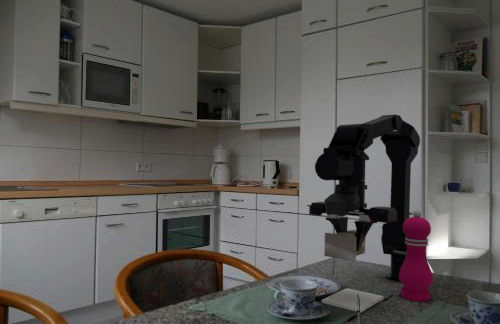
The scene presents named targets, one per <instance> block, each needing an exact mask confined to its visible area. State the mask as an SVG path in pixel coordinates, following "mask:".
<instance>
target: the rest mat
mask: <svg viewBox="0 0 500 324" xmlns="http://www.w3.org/2000/svg"><path fill="white" fill-rule="evenodd" d="M357 294H358V295H359V298H360V312H359V313H363V312H364V311H367V310H369V308H371V307H372V306H374V305H376V304H377V303H379V302H381V301H382V300H384V296H383V295H378V294H375V293H370V292H366V291H363V290H362V291H361V290H357V289H352V288H350V287H349V288H348V287H347V288H344V289H342V290H340V291H337V292H335V293H333V294H330V295H329V296H327V297H325V298H322V299H321V303H322V304H325V305H329V306H333V307H337V308H340V309H345V310H348V311H349V310H350V311H353V312H357ZM357 313H358V312H357Z"/></svg>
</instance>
